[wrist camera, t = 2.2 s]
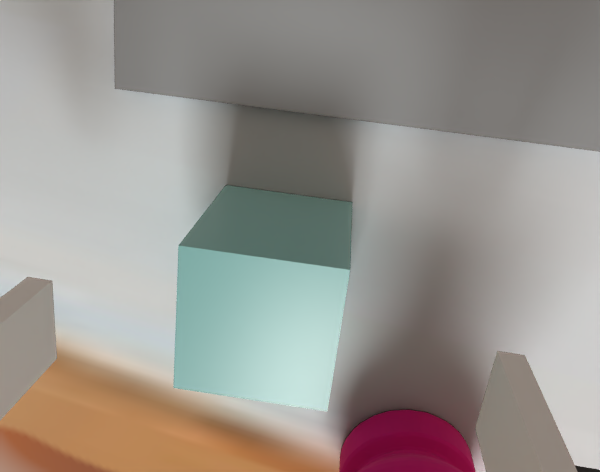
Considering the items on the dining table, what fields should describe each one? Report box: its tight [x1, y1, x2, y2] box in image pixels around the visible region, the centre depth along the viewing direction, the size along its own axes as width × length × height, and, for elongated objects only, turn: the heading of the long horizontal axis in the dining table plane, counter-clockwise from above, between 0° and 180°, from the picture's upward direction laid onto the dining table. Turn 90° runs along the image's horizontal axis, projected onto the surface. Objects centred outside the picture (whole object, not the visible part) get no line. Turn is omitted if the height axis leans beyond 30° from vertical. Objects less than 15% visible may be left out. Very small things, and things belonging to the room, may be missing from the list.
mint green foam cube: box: [174, 185, 352, 412], centre depth 21 cm, size 5×5×7 cm
